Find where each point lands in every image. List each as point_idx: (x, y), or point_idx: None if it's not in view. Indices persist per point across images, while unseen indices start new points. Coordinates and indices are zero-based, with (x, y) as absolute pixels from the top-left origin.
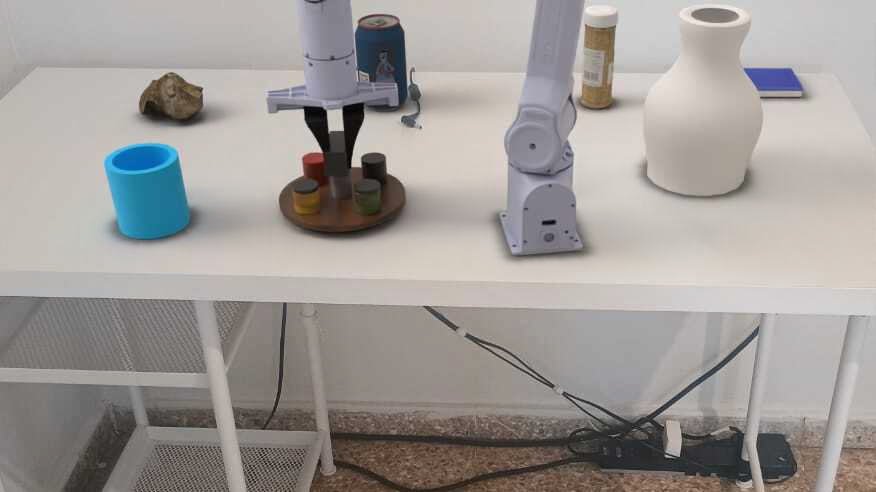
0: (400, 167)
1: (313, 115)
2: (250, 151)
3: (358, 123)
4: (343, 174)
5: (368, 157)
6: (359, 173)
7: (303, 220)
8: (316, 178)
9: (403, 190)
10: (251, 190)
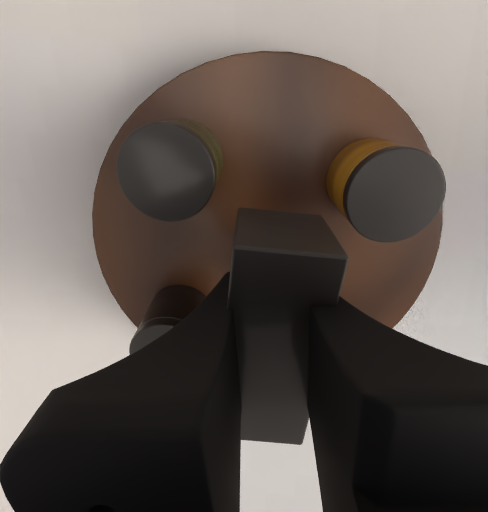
0: None
1: (478, 500)
2: None
3: (85, 385)
4: (250, 210)
5: None
6: None
7: (385, 99)
8: None
9: (101, 258)
10: (469, 334)
